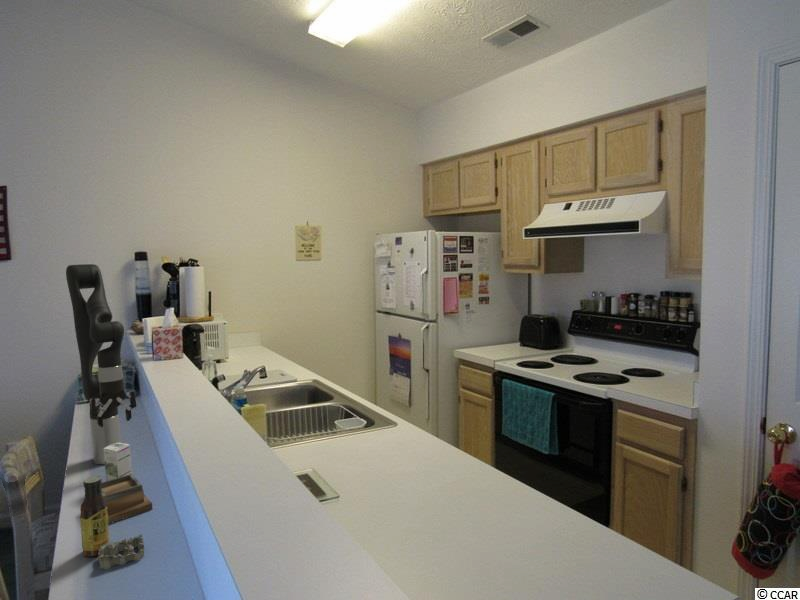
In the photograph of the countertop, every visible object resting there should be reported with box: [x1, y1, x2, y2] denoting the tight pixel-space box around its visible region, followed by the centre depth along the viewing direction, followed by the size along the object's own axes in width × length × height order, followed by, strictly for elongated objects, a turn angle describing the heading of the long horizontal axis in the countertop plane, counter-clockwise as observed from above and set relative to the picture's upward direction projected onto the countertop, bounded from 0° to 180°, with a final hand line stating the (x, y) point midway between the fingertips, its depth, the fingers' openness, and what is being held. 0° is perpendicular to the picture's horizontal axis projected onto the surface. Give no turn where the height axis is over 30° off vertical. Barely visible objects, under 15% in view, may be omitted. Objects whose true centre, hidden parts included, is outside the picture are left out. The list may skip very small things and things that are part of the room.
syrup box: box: [104, 442, 133, 481], centre depth 172 cm, size 6×6×14 cm
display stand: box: [101, 473, 153, 525], centre depth 159 cm, size 16×14×8 cm
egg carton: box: [97, 533, 145, 570], centre depth 135 cm, size 11×8×4 cm
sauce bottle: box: [80, 476, 110, 558], centre depth 137 cm, size 6×6×20 cm
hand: (114, 423), depth 182 cm, fingers open, 8 cm apart
